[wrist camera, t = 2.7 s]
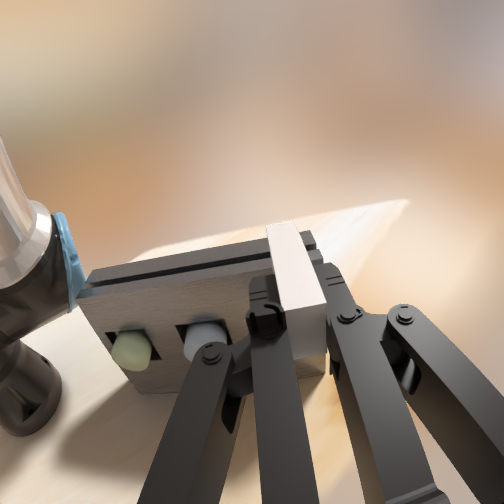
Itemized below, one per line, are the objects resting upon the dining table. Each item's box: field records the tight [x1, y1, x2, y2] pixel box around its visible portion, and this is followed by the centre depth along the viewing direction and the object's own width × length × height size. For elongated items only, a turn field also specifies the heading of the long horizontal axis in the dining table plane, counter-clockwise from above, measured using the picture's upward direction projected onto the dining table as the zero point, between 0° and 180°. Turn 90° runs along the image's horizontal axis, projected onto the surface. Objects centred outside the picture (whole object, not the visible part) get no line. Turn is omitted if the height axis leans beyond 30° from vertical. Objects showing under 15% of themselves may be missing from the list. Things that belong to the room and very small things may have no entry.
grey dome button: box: [184, 320, 227, 362], centre depth 27 cm, size 4×2×4 cm, turn 93°
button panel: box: [75, 230, 326, 394], centre depth 30 cm, size 23×5×16 cm, turn 93°
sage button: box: [111, 329, 153, 371], centre depth 28 cm, size 4×2×4 cm, turn 93°
